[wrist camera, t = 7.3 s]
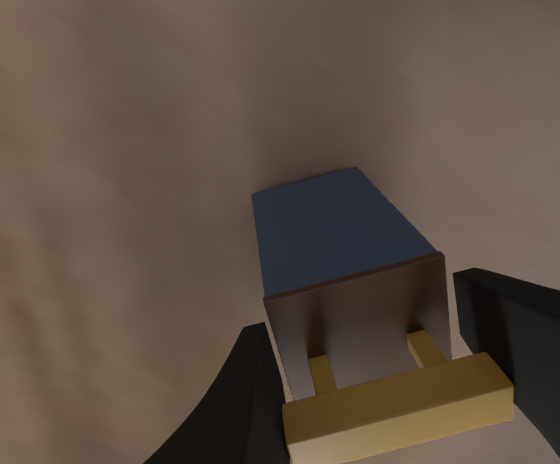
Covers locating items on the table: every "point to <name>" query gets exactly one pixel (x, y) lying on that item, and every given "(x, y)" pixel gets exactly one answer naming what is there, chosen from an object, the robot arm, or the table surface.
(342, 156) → the table surface
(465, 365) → the box
